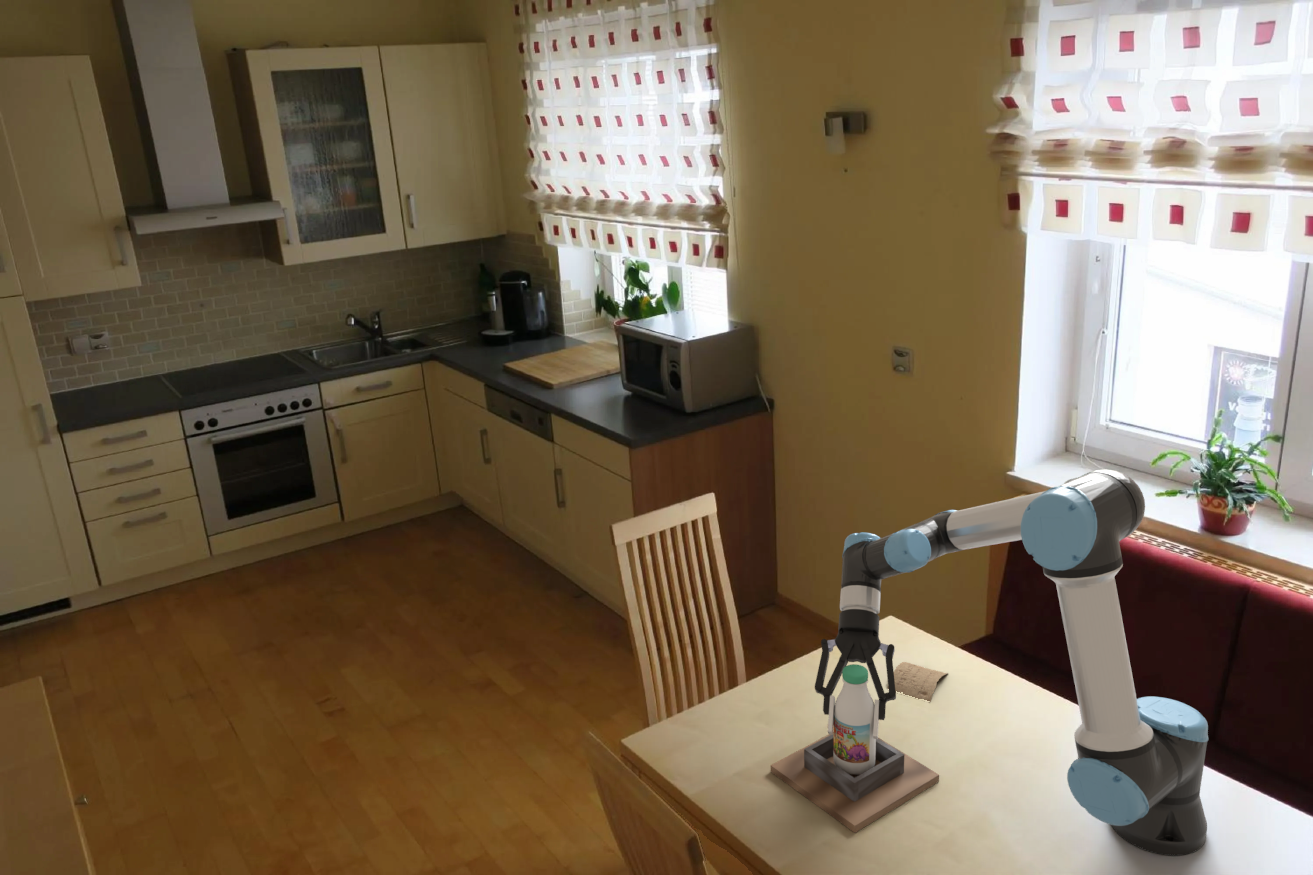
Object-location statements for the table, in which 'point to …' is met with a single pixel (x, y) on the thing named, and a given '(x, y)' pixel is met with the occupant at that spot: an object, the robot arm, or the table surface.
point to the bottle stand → (854, 781)
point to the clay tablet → (916, 680)
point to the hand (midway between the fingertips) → (852, 734)
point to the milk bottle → (854, 723)
